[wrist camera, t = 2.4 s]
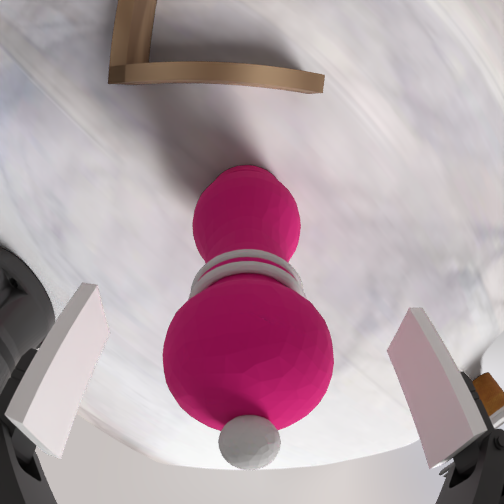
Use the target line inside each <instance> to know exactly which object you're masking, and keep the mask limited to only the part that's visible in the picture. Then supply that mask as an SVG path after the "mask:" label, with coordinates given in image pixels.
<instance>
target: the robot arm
mask: <svg viewBox="0 0 504 504" xmlns="http://www.w3.org/2000/svg"><path fill="white" fill-rule="evenodd" d="M109 335H110V330H109V327H108V323H107V320H106V316H105V312H104V309H103V305H102V301H101V297H100V293H99V289H98V285H95V284H88V283H82V284H81V285H80V287H79V288H78V289H77V291H76V292H75V294H74V295H73V297H72V298H71V299H70V301H69V302H68V304H67V305H66V307H65V308H64V310H63V311H62V313H61V314H60V316H59V317H58V319H57V320H56V322H55V315H54V311H53V307H52V304H51V302H50V300H49V297H48V295H47V293H46V292H45V290H44V288H43V287H42V285H41V283H40V282H39V281H38V279H37V278H36V277H35V275H34V274H33V273H32V272H31V270H30V269H29V268H28V267H27V266H26V265H25V264H24V263H23V262H22V261H21V260H20V259H18V258H17V257H16V256H15V255H13V254H12V253H10V252H9V251H7V250H5V249H3V248H0V504H57V502H56V500H55V498H54V496H53V494H52V491H51V489H50V487H49V484H48V482H47V480H46V477H45V475H44V472H43V470H42V467H41V465H40V462H39V459H38V456H37V454H36V452H35V448H36V446H37V447H38V448H39V449H40V450H42V451H43V452H44V453H46V454H49V455H51V456H53V457H55V458H58V459H61V457H62V454H63V451H64V448H65V444H66V442H67V438H68V436H69V433H70V430H71V427H72V424H73V422H74V419H75V416H76V413H77V411H78V408H79V405H80V403H81V400H82V398H83V395H84V393H85V390H86V388H87V385H88V383H89V380H90V378H91V375H92V373H93V371H94V368H95V366H96V364H97V361H98V359H99V357H100V355H101V352H102V350H103V348H104V346H105V343H106V341H107V339H108V337H109ZM38 348H39V350H36V349H38ZM387 352H388V355H389V357H390V360H391V362H392V364H393V367H394V369H395V372H396V374H397V377H398V379H399V382H400V384H401V387H402V390H403V392H404V395H405V398H406V400H407V403H408V406H409V408H410V411H411V414H412V417H413V420H414V422H415V425H416V428H417V431H418V434H419V437H420V440H421V443H422V446H423V449H424V453H425V456H426V459H427V463H428V466H429V469H432V468H435V467H438V466H440V465H443V464H444V463H446V462H448V461H449V460H450V459H452V458H453V459H454V462H453V463H451V464H450V465H448V466H447V467H445V468H444V469H443V470H442V471H441V472H440V473H439V475H442V474H444V473H445V472H447V471H448V470H449V471H448V473H447V474H445V475H444V477H446V479H445V482H444V484H443V487H442V490H441V492H440V495H439V497H438V499H437V502H436V504H504V431H503V430H502V429H495V428H494V426H493V425H492V422H491V420H490V418H489V416H488V413H487V411H486V409H485V407H484V405H483V403H482V401H481V399H479V398H480V397H479V395H478V393H477V392H476V389H475V387H474V385H473V383H472V381H471V379H470V378H469V377H468V376H467V375H466V374H465V373H464V372H460V371H459V369H458V368H457V366H456V364H455V362H454V360H453V358H452V357H451V355H450V353H449V351H448V350H447V348H446V346H445V344H444V343H443V341H442V339H441V337H440V336H439V334H438V332H437V331H436V329H435V327H434V326H433V324H432V322H431V321H430V319H429V318H428V316H427V314H426V313H425V311H424V310H423V308H409V309H408V311H407V314H406V316H405V318H404V319H403V321H402V323H401V325H400V327H399V329H398V331H397V333H396V335H395V337H394V339H393V340H392V342H391V344H390V346H389V348H388V349H387Z"/></svg>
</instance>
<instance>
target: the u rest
mask: <svg viewBox="0 0 504 504" xmlns="http://www.w3.org/2000/svg"><path fill="white" fill-rule="evenodd" d="M156 3H157V0H118V5H117V10H116V16H115V22H114V29H113V37H112V45H111V54H110V64H109V77H108V84H124V85H139V84H160V83H207V84H228V85H242V86H253V87H263V88H272V89H280V90H287V91H294V92H300V93H306V94H312V93H323V86H324V78H325V75H322V74H317V73H312V72H307V71H301V70H295V69H288V68H281V67H273V66H265V65H255V64H244V63H230V62H204V61H178V62H153V63H149V54H150V45H151V36H152V29H153V22H154V15H155V9H156Z"/></svg>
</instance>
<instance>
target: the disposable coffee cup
mask: <svg viewBox="0 0 504 504" xmlns="http://www.w3.org/2000/svg"><path fill="white" fill-rule="evenodd" d="M472 383H473V385H474V387H475V389H476V392H477V393H478V395H479V397H480V398H479V399H481V401H482V403H483V405H484V407H485V409H486V411H487V413H488V416H489V418H490V420H491V422H492V425H493V426H494V428H495V429H497V428H498V427H500V426H501V425H502V424H503V423H504V392H503V390H502V389H501V388H500V387H499V385H498V384H497V382H496V381H495V380H494V379H493V378H492V376H491V375H490V373H488V372H487V373H484V374H482V375H480V376H479V377H477V378H476V379H475V380H474V381H473V382H472Z"/></svg>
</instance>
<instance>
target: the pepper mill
mask: <svg viewBox="0 0 504 504" xmlns="http://www.w3.org/2000/svg"><path fill="white" fill-rule="evenodd" d="M300 228H301V224H300V216H299V212H298V208H297V204H296V202H295V200H294V198H293V196H292V195H291V193H290V192H289V190H288V189H287V188H286V187H285V186H284V185H283V184H282V183H280V182H279V181H278V180H277V179H276V178H275V176H273V175H272V174H271V173H270V172H268V171H267V170H265V169H263V168H260V167H257V166H252V165H241V166H236V167H233V168H230V169H228V170H226V171H224V172H223V173H222V174H220V175H219V176H218V177H217V178H216V180H215V181H214V182H213V183H212V184H211V185H209V186H208V187H207V188H206V189H205V191H204V192H203V193H202V195H201V196H200V198H199V200H198V202H197V205H196V208H195V211H194V217H193V236H194V240H195V243H196V247H197V249H198V251H199V253H200V255H201V256H202V258H203V259H204V260H205V263H206V264H205V265H204V266H203V267H202V268H201V269H200V270H199V272H198V273H197V275H196V276H195V278H194V281H193V283H192V287H191V293H190V296H189V299H188V301H187V302H186V303H185V304H184V305H183V306H182V307H181V308H180V309H179V310H178V311H177V312H176V314H175V316H174V318H173V320H172V322H171V323H170V325H169V328H168V331H167V334H166V338H165V342H164V348H163V366H164V374H165V379H166V383H167V385H168V388H169V390H170V392H171V393H172V395H173V396H174V398H175V399H176V401H177V402H178V404H179V406H180V407H181V408H182V409H183V410H184V411H186V412H187V413H188V414H189V415H190V416H191V417H193V418H195V419H196V420H198V421H199V422H201V423H203V424H205V425H207V426H208V427H211V428H214V429H217V430H220V431H221V433H220V436H219V441H218V443H219V449H220V451H221V454H222V456H223V457H224V458H225V460H226V461H227V462H228V463H230V464H231V465H233V466H235V467H237V468H240V469H244V470H255V469H259V468H263V467H265V466H266V465H268V464H270V463H271V462H272V461H273V460H274V459H275V457H276V455H277V454H278V452H279V450H280V444H281V441H280V436H279V433H278V430H280V429H282V428H285V427H288V426H290V425H292V424H293V423H295V422H297V421H299V420H300V419H302V418H304V417H305V416H307V415H308V414H309V413H310V412H311V411H312V410H313V409H314V408H315V407H316V406H317V405H318V404H319V402H320V401H321V399H322V398H323V396H324V395H325V393H326V391H327V388H328V386H329V383H330V380H331V377H332V372H333V365H334V358H333V347H332V340H331V336H330V332H329V330H328V327H327V325H326V322H325V320H324V319H323V317H322V316H321V315H320V314H319V312H318V311H317V310H316V308H315V307H314V306H313V304H312V303H311V302H310V301H308V300H307V299H306V296H305V293H304V289H303V285H302V281H301V279H300V277H299V275H298V273H297V272H296V271H295V269H294V268H293V267H292V266H291V265H290V264H289V263H288V262H289V260H290V258H291V257H292V255H293V254H294V252H295V250H296V247H297V245H298V241H299V236H300Z"/></svg>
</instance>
